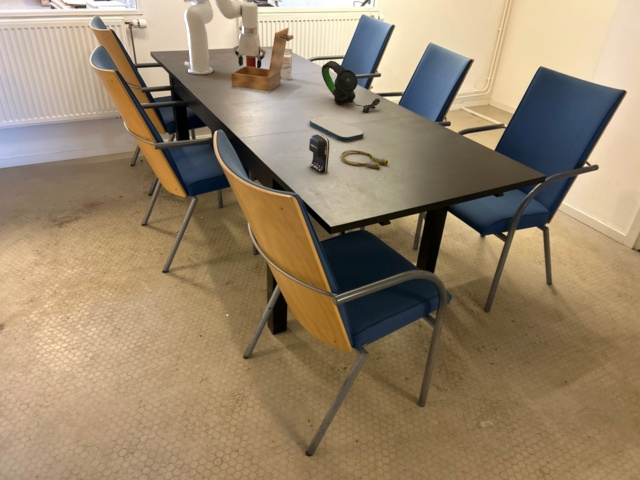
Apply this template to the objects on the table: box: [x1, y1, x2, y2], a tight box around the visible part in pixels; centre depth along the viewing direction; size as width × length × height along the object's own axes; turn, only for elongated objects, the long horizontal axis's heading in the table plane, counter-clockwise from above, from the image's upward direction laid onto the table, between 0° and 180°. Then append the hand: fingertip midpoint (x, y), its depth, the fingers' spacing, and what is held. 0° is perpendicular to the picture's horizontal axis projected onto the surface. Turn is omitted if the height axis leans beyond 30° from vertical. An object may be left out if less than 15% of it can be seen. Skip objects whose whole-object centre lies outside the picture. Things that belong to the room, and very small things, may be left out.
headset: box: [321, 60, 381, 113], centre depth 217 cm, size 18×14×29 cm
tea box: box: [230, 65, 282, 92], centre depth 237 cm, size 19×16×7 cm
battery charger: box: [308, 133, 330, 174], centre depth 157 cm, size 7×4×11 cm, turn 34°
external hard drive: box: [309, 115, 364, 142], centre depth 191 cm, size 24×12×2 cm, turn 37°
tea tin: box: [245, 55, 257, 68], centre depth 248 cm, size 5×5×11 cm
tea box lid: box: [268, 27, 294, 77], centre depth 227 cm, size 20×16×5 cm
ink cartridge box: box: [281, 47, 293, 80], centre depth 249 cm, size 9×5×15 cm, turn 84°
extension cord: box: [341, 149, 389, 169], centre depth 168 cm, size 12×16×2 cm
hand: (249, 66), depth 249 cm, fingers open, 9 cm apart
